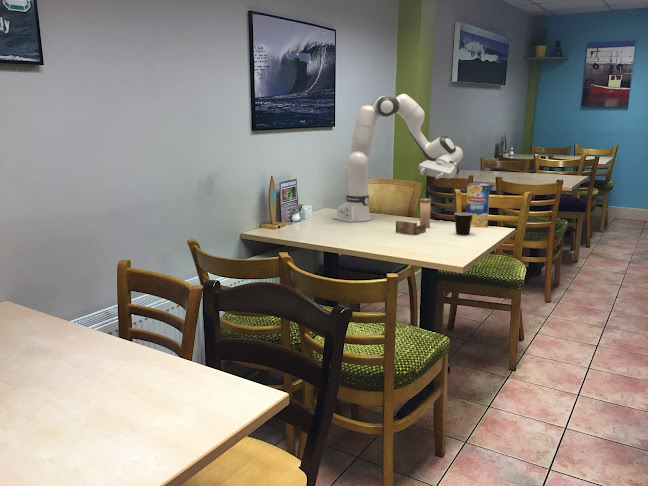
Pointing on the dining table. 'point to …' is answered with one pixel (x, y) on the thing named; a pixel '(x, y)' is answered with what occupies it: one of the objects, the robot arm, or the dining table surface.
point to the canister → (425, 211)
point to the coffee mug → (463, 223)
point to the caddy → (409, 228)
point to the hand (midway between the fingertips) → (428, 175)
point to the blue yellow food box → (478, 203)
